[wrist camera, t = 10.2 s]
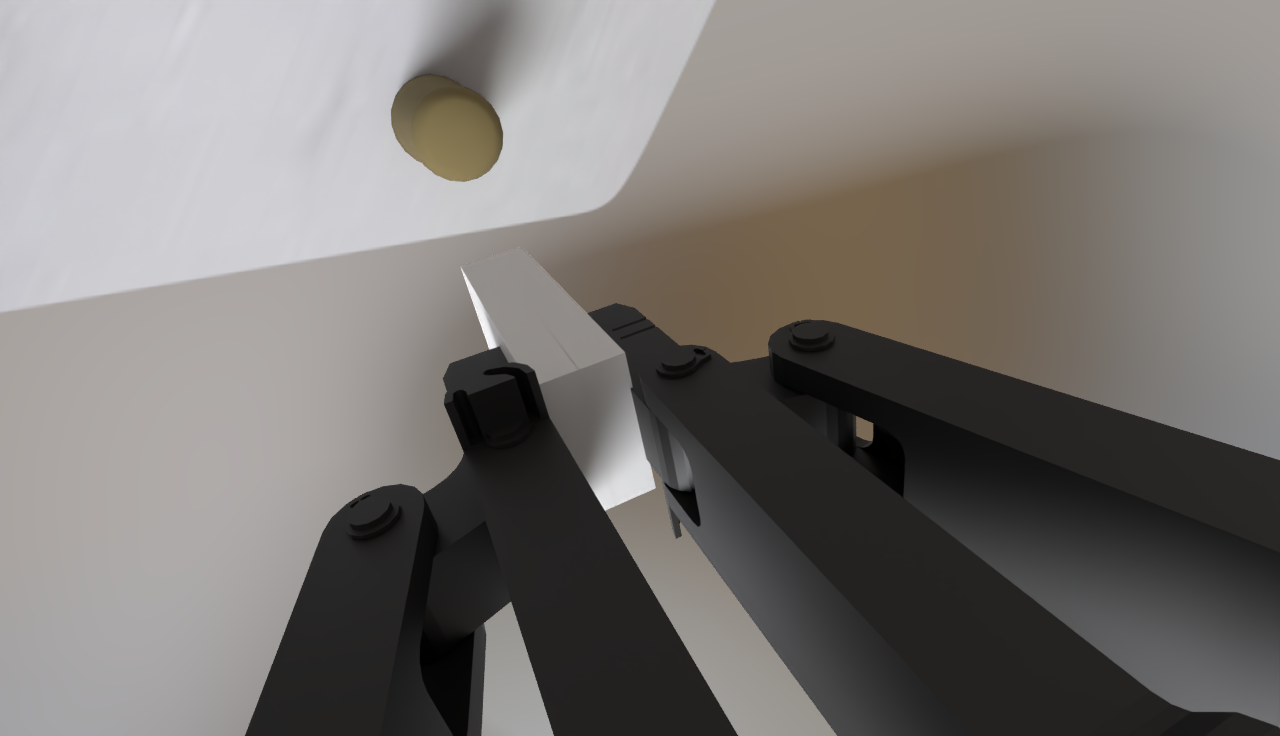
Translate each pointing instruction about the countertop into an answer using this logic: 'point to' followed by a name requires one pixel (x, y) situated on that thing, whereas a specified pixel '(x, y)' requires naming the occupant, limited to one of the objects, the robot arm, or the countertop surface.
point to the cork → (447, 127)
